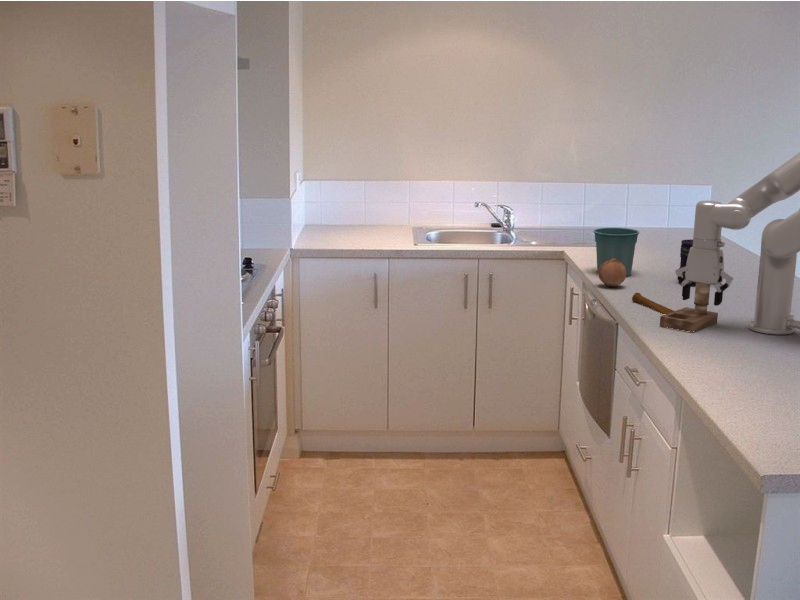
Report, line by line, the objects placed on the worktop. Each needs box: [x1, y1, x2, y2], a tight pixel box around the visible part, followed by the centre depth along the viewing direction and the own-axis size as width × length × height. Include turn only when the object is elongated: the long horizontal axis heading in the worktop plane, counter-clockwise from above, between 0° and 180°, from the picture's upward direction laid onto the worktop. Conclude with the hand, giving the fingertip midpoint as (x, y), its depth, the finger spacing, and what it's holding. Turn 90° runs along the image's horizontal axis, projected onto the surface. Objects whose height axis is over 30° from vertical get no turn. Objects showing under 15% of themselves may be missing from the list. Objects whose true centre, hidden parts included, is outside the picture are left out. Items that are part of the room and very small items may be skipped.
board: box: [659, 306, 719, 333], centre depth 275 cm, size 10×16×3 cm, turn 137°
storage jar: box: [677, 239, 696, 288], centre depth 329 cm, size 10×10×15 cm
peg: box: [693, 282, 711, 314], centre depth 275 cm, size 4×4×10 cm
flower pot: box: [593, 227, 641, 277], centre depth 344 cm, size 16×16×16 cm
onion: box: [597, 258, 627, 288], centre depth 324 cm, size 10×9×10 cm
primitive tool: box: [631, 292, 675, 315], centre depth 295 cm, size 19×6×4 cm, turn 25°
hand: (701, 302), depth 276 cm, fingers open, 9 cm apart
